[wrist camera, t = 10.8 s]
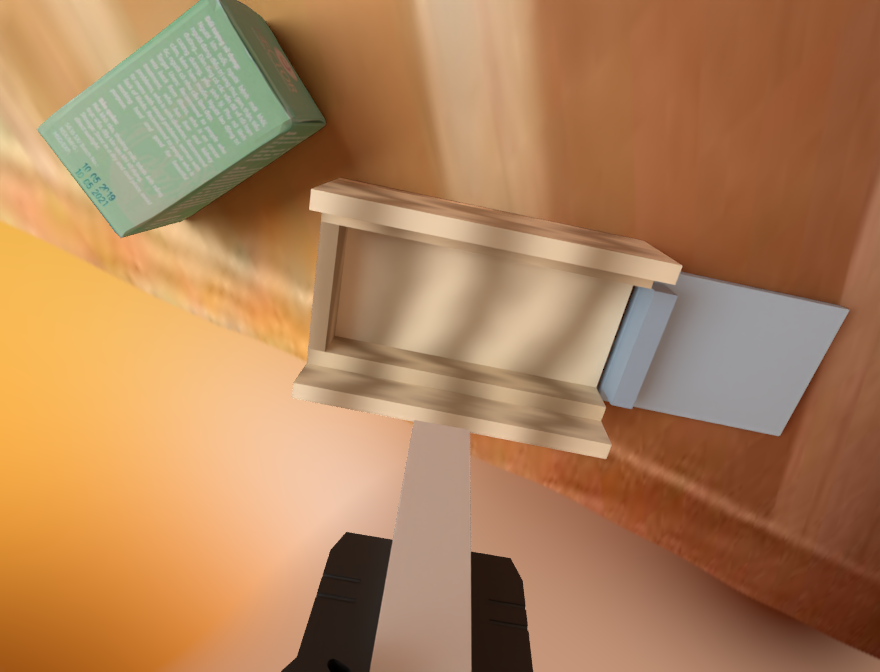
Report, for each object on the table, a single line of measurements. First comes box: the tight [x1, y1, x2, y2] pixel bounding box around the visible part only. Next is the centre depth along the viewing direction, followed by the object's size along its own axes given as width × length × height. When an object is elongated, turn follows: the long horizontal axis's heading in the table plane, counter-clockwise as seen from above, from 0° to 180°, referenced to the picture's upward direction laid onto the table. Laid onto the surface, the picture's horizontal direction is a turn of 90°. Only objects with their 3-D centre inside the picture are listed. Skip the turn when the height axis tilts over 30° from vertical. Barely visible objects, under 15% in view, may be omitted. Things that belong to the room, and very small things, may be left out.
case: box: [292, 178, 682, 459], centre depth 35 cm, size 22×14×7 cm, turn 79°
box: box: [37, 0, 326, 238], centre depth 31 cm, size 7×14×8 cm, turn 120°
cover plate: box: [597, 272, 849, 436], centre depth 37 cm, size 15×11×4 cm
